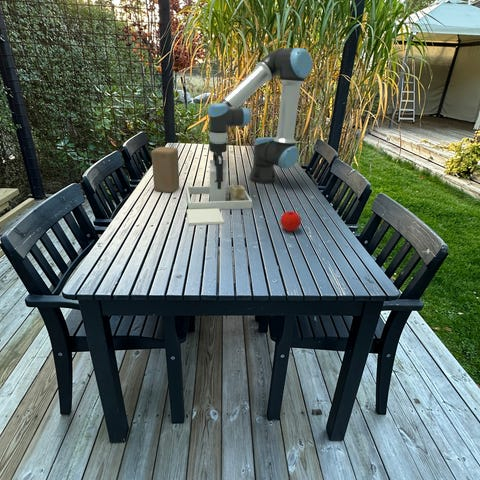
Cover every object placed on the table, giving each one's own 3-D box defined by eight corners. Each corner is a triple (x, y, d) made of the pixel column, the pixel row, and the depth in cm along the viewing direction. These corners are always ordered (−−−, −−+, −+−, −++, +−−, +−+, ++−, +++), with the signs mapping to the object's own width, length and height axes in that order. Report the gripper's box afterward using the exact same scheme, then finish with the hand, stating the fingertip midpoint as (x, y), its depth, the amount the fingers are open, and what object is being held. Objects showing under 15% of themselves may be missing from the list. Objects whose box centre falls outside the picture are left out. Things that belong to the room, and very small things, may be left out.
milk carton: (209, 197, 161) (209, 158, 152) (224, 198, 161) (225, 158, 153) (209, 203, 154) (209, 162, 146) (225, 203, 155) (226, 162, 146)
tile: (218, 210, 147) (218, 208, 147) (223, 223, 135) (223, 221, 135) (186, 211, 145) (186, 209, 144) (188, 225, 132) (188, 223, 132)
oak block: (240, 201, 158) (241, 185, 154) (244, 205, 154) (245, 188, 150) (230, 202, 156) (230, 186, 153) (234, 206, 152) (234, 189, 149)
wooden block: (172, 193, 164) (170, 152, 155) (153, 191, 165) (150, 150, 156) (180, 187, 173) (178, 147, 163) (161, 185, 174) (159, 146, 165)
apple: (278, 224, 137) (280, 207, 133) (298, 225, 137) (300, 208, 133) (280, 233, 130) (282, 215, 126) (300, 234, 129) (303, 216, 126)
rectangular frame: (241, 192, 170) (242, 185, 168) (251, 208, 151) (252, 201, 149) (186, 193, 165) (185, 186, 163) (188, 210, 146) (188, 203, 144)
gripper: (206, 137, 154) (207, 185, 164) (212, 147, 136) (212, 200, 146) (223, 137, 155) (222, 185, 165) (230, 147, 137) (229, 199, 148)
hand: (217, 192), depth 156 cm, fingers closed on milk carton, 7 cm apart
